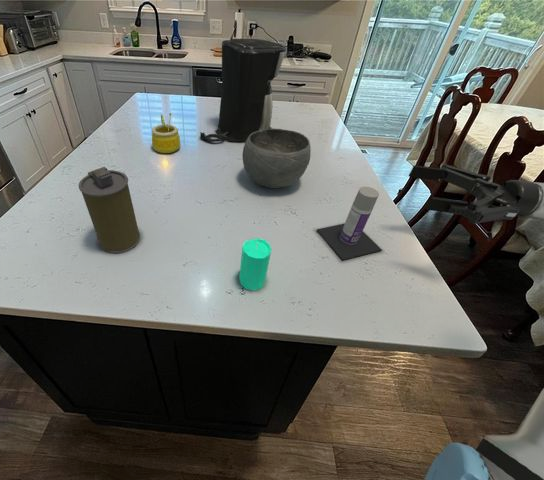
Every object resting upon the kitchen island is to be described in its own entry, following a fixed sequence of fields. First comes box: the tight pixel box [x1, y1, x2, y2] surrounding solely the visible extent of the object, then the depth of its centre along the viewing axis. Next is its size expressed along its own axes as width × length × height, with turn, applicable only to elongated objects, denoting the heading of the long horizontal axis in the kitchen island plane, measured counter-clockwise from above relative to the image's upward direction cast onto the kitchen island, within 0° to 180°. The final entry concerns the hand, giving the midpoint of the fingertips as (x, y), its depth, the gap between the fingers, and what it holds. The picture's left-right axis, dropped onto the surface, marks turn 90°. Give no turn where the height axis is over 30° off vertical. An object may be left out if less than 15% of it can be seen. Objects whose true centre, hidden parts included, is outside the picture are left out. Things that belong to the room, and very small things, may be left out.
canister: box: [78, 166, 141, 254], centre depth 70 cm, size 11×10×20 cm
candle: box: [238, 237, 272, 291], centre depth 64 cm, size 6×6×12 cm
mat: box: [316, 222, 383, 262], centre depth 79 cm, size 12×12×1 cm
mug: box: [151, 112, 181, 154], centre depth 112 cm, size 13×11×12 cm
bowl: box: [241, 128, 312, 189], centre depth 95 cm, size 21×21×15 cm
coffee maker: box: [199, 38, 287, 143], centre depth 116 cm, size 23×32×34 cm
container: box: [340, 186, 380, 245], centre depth 74 cm, size 5×5×15 cm
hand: (419, 186), depth 65 cm, fingers open, 13 cm apart
